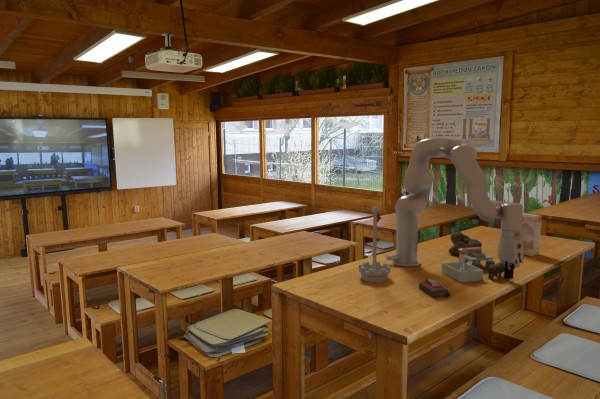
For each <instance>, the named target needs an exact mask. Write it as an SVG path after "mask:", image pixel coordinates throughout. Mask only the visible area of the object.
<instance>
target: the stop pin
mask: <svg viewBox="0 0 600 399" xmlns="http://www.w3.org/2000/svg"><path fill="white" fill-rule="evenodd" d="M458 252H459V255H458V259H459V261H458V262H459V271H461V272H465V254H466V252H467V249H465V248H458Z"/></svg>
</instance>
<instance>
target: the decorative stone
mask: <svg viewBox="0 0 600 399" xmlns="http://www.w3.org/2000/svg"><path fill="white" fill-rule="evenodd" d="M450 240H451V241H450V242H451V243H452V244H453V245H452V246H451V247H450V248H449V249H448V253H449V254H450V255H454V256H459V252H458V248H472V247H480V248H482V246H483V245H482V242H481V241H480V240H479V239H475V238H471V237H470V236H469V235H467V234H464V233H463V232H462V231H457V232H453V233H451V235H450Z"/></svg>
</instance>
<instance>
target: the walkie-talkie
mask: <svg viewBox="0 0 600 399" xmlns="http://www.w3.org/2000/svg"><path fill="white" fill-rule="evenodd" d="M418 289H419V291H421V292H424V293H425V294H426V295H427V296H429V297H431V298H432V299H433V298H434V299H437V298H439V299H440V298H447V297H450V296H451V292H449V290H448V289H447V288H446V287H445V285H444V284H442V283H441V282H440V281H436V280H434V279H432V278H429V277H426V278H425V279H424V280H423V281H419V282H418Z"/></svg>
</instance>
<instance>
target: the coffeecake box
mask: <svg viewBox="0 0 600 399" xmlns="http://www.w3.org/2000/svg"><path fill="white" fill-rule="evenodd" d="M542 220H543V218H542V215H540V214H532V213H525V212H523V216H522V232H521V235H522V236H521V239H522V240H523V249H524V255H526V256H530V257H534V256H537V255H540V246H541V245H540V244H541V231H542Z"/></svg>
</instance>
